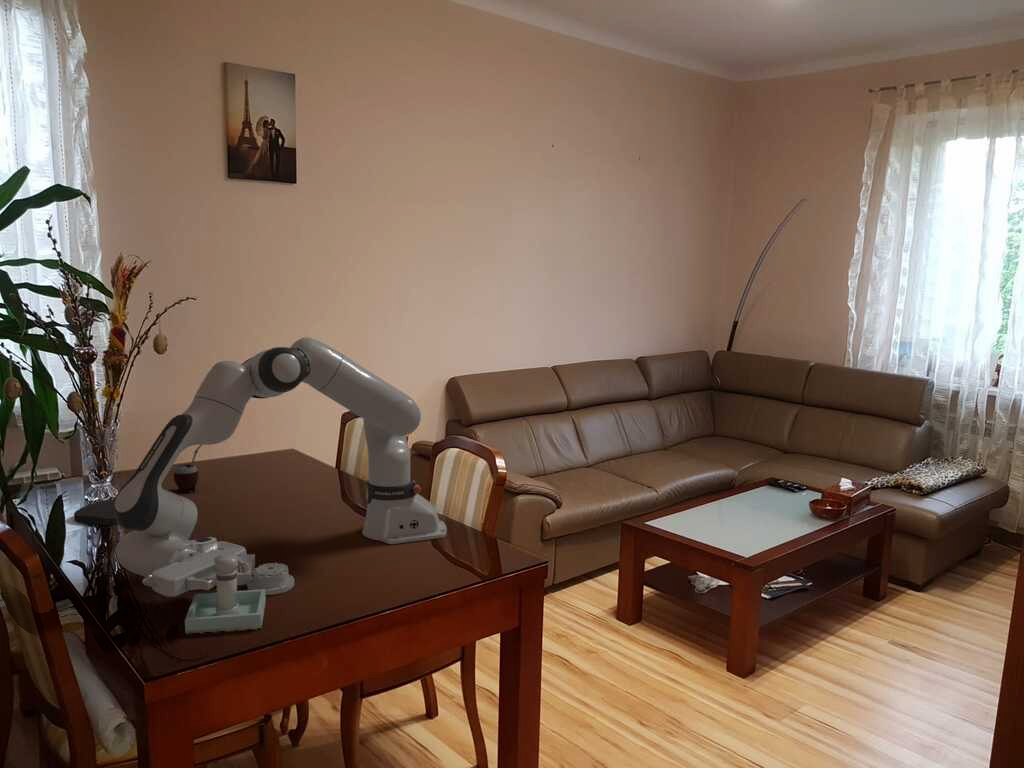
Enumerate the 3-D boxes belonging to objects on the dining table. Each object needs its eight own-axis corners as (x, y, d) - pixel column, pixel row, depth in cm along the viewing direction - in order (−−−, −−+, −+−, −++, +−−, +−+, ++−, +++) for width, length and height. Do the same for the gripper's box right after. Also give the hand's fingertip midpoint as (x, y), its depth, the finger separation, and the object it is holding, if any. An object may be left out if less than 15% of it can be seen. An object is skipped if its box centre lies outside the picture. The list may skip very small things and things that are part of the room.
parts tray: (265, 602, 165) (265, 589, 164) (261, 628, 153) (260, 614, 153) (195, 607, 162) (194, 593, 161) (185, 634, 150) (184, 620, 150)
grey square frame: (255, 564, 185) (254, 554, 185) (250, 584, 174) (250, 574, 173) (201, 567, 182) (201, 557, 182) (193, 588, 171) (192, 577, 170)
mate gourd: (169, 493, 237) (167, 445, 235) (187, 486, 245) (185, 440, 242) (189, 496, 235) (187, 447, 233) (207, 489, 243) (205, 442, 240)
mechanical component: (281, 574, 180) (240, 585, 174) (281, 556, 180) (239, 566, 173) (302, 588, 173) (259, 600, 166) (302, 569, 172) (259, 581, 166)
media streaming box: (115, 528, 207) (114, 517, 207) (67, 523, 210) (66, 512, 210) (150, 511, 222) (150, 501, 221) (105, 506, 224) (105, 496, 224)
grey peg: (235, 608, 161) (234, 552, 159) (241, 616, 157) (240, 559, 155) (213, 613, 158) (212, 556, 156) (218, 621, 154) (217, 563, 153)
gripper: (136, 565, 152) (186, 580, 146) (217, 534, 170) (265, 545, 164) (137, 596, 153) (187, 611, 147) (218, 561, 171) (265, 574, 165)
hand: (229, 576), depth 156 cm, fingers open, 8 cm apart
